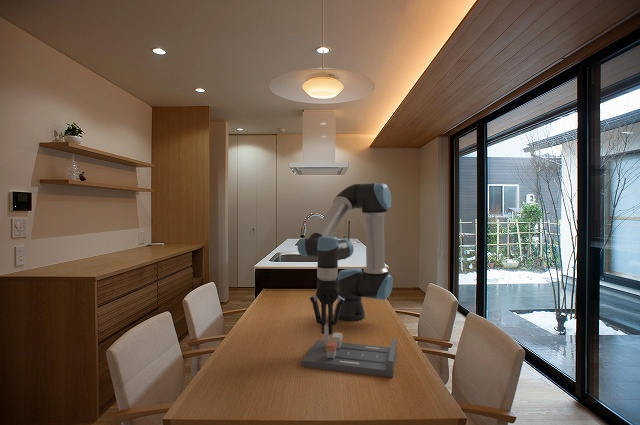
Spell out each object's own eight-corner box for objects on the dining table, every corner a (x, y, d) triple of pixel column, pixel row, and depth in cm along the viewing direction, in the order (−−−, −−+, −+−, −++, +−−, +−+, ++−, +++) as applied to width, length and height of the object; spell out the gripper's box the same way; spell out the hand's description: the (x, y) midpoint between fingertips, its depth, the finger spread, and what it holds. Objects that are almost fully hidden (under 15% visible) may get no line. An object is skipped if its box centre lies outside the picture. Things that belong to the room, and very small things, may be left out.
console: (317, 345, 144) (317, 332, 144) (396, 353, 136) (396, 339, 136) (301, 366, 124) (301, 351, 124) (392, 377, 117) (393, 361, 117)
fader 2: (334, 343, 139) (334, 332, 139) (342, 344, 138) (342, 333, 138) (331, 348, 134) (331, 336, 134) (339, 349, 134) (340, 337, 134)
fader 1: (328, 352, 130) (328, 340, 130) (337, 353, 129) (337, 341, 129) (325, 357, 126) (325, 345, 126) (334, 358, 125) (334, 346, 125)
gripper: (307, 279, 135) (307, 344, 135) (342, 281, 131) (342, 348, 132) (313, 275, 142) (312, 337, 142) (346, 277, 139) (346, 341, 139)
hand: (327, 342), depth 137 cm, fingers closed
